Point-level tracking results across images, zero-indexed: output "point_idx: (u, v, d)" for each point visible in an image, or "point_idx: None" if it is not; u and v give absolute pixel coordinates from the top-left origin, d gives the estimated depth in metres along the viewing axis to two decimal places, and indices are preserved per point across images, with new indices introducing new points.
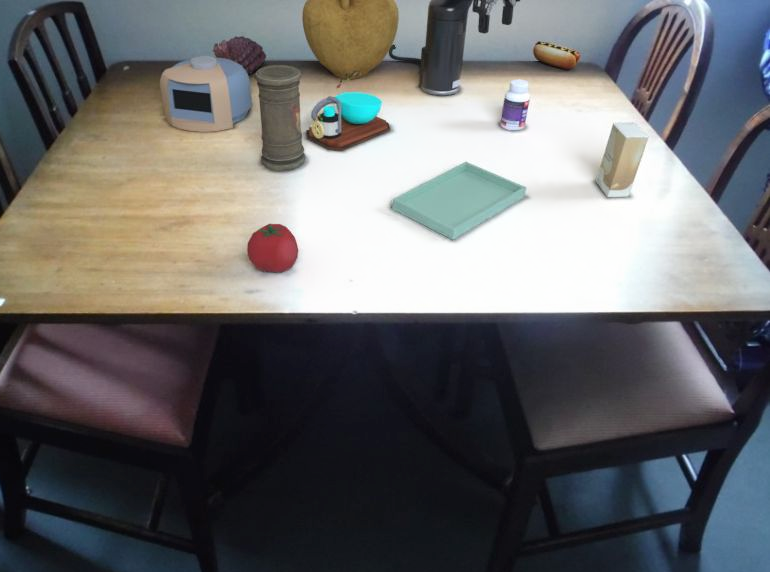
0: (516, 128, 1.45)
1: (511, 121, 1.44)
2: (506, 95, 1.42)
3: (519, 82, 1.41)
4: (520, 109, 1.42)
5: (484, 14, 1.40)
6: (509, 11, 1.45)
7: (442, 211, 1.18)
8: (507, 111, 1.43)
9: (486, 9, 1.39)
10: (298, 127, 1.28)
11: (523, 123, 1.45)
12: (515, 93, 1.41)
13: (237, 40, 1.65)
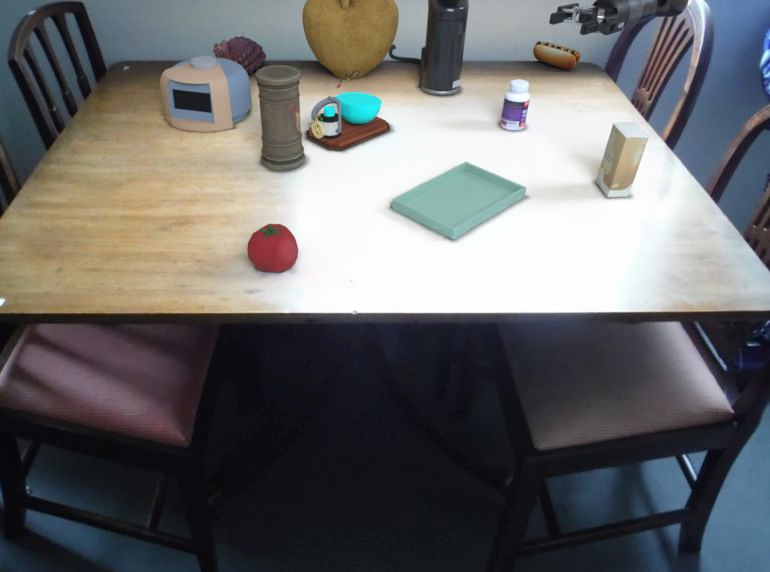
0: (516, 128, 1.45)
1: (511, 121, 1.44)
2: (506, 95, 1.42)
3: (519, 82, 1.41)
4: (520, 109, 1.42)
5: (598, 31, 1.38)
6: (561, 20, 1.43)
7: (442, 211, 1.18)
8: (507, 111, 1.43)
9: None
10: (298, 127, 1.28)
11: (523, 123, 1.45)
12: (515, 93, 1.41)
13: (237, 40, 1.65)
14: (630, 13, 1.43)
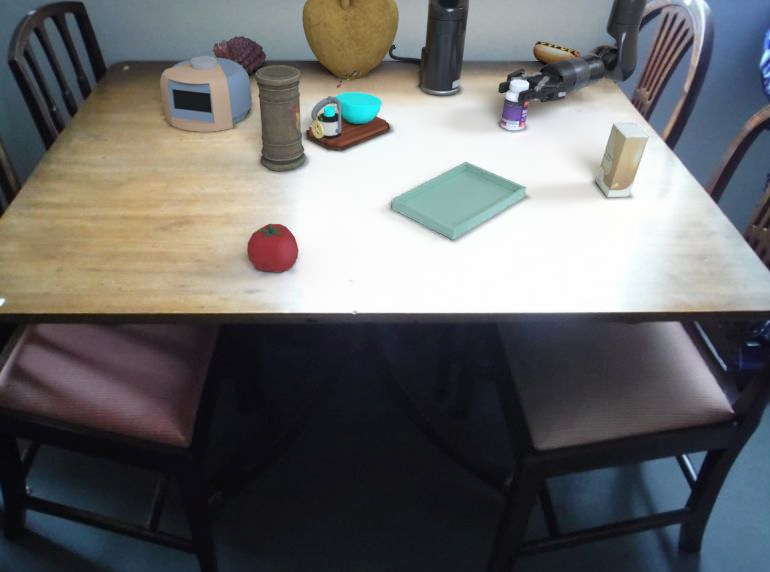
0: (516, 128, 1.45)
1: (511, 121, 1.44)
2: (506, 95, 1.42)
3: (519, 82, 1.41)
4: (520, 109, 1.42)
5: (536, 98, 1.41)
6: None
7: (442, 211, 1.18)
8: (507, 111, 1.43)
9: None
10: (298, 127, 1.28)
11: (523, 123, 1.45)
12: (515, 93, 1.41)
13: (237, 40, 1.65)
14: (576, 80, 1.45)
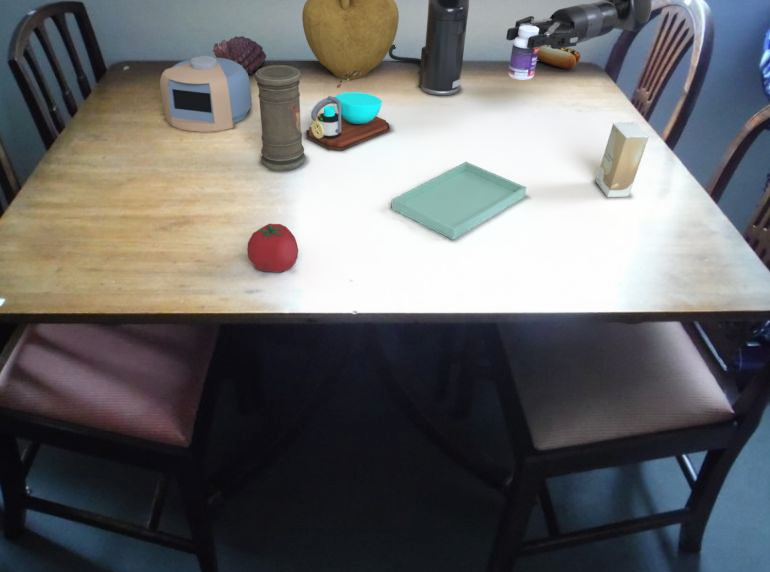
0: (525, 77, 1.38)
1: (519, 69, 1.37)
2: (515, 42, 1.35)
3: (528, 27, 1.34)
4: (529, 56, 1.35)
5: (546, 44, 1.34)
6: (518, 35, 1.37)
7: (442, 211, 1.18)
8: (516, 59, 1.36)
9: (548, 44, 1.34)
10: (298, 127, 1.28)
11: (532, 72, 1.38)
12: (524, 38, 1.34)
13: (237, 40, 1.65)
14: (588, 26, 1.38)
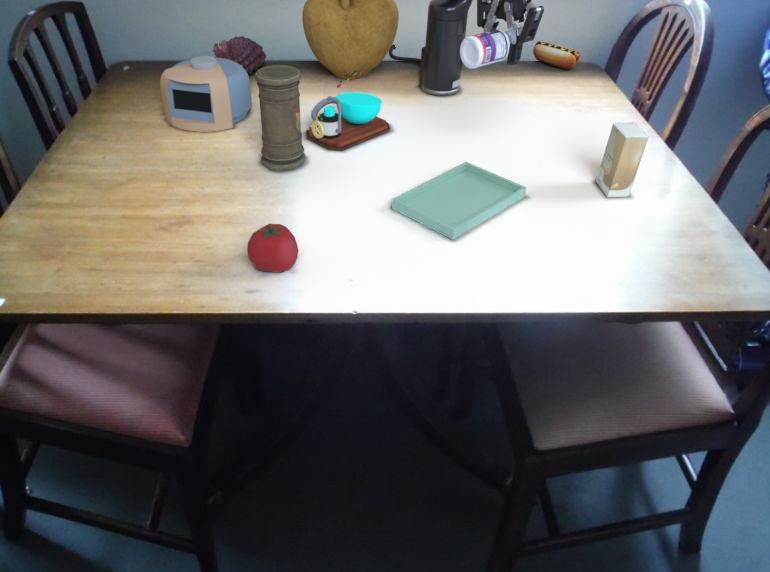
0: None
1: None
2: None
3: None
4: None
5: None
6: None
7: (442, 211, 1.18)
8: None
9: None
10: (298, 127, 1.28)
11: None
12: None
13: (237, 40, 1.65)
14: None
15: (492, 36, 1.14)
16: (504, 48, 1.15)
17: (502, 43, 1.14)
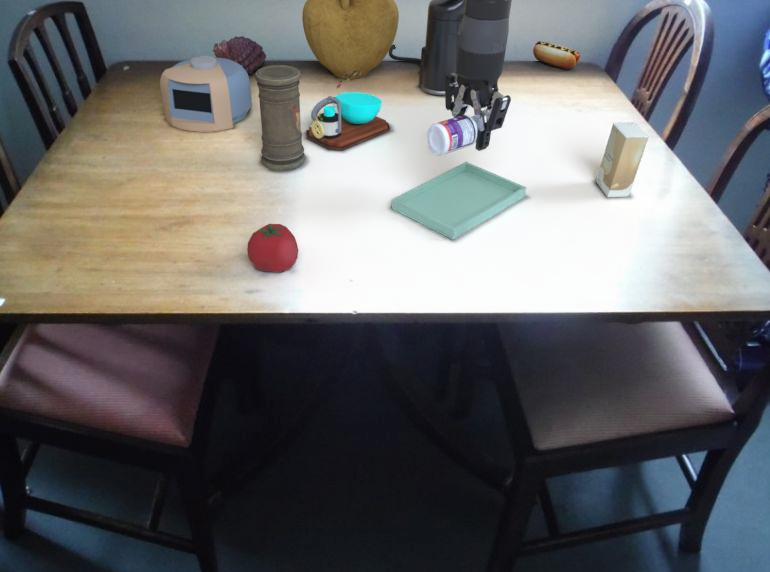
0: None
1: None
2: None
3: None
4: None
5: None
6: None
7: (442, 211, 1.18)
8: None
9: None
10: (298, 127, 1.28)
11: None
12: None
13: (237, 40, 1.65)
14: None
15: (459, 123, 1.11)
16: (471, 134, 1.12)
17: (469, 129, 1.11)
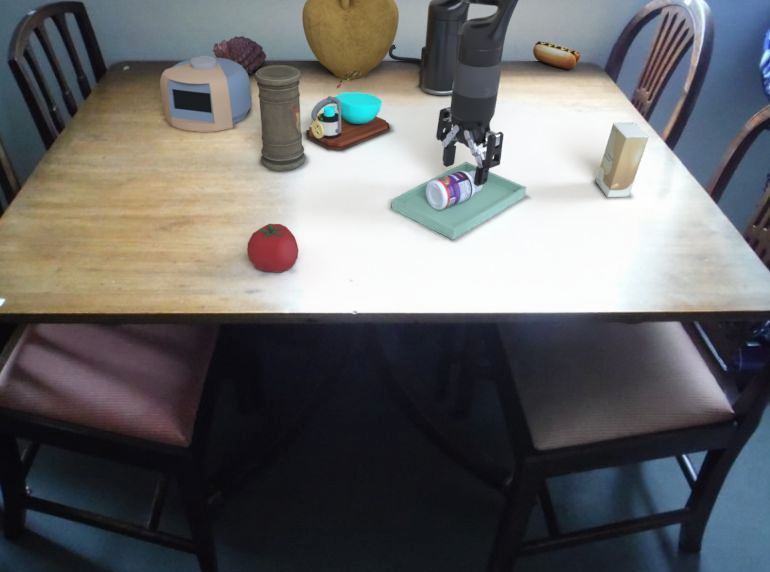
0: None
1: None
2: None
3: None
4: None
5: None
6: None
7: (442, 211, 1.18)
8: None
9: None
10: (298, 127, 1.28)
11: None
12: None
13: (237, 40, 1.65)
14: None
15: (459, 185, 1.17)
16: (467, 196, 1.18)
17: (467, 192, 1.18)
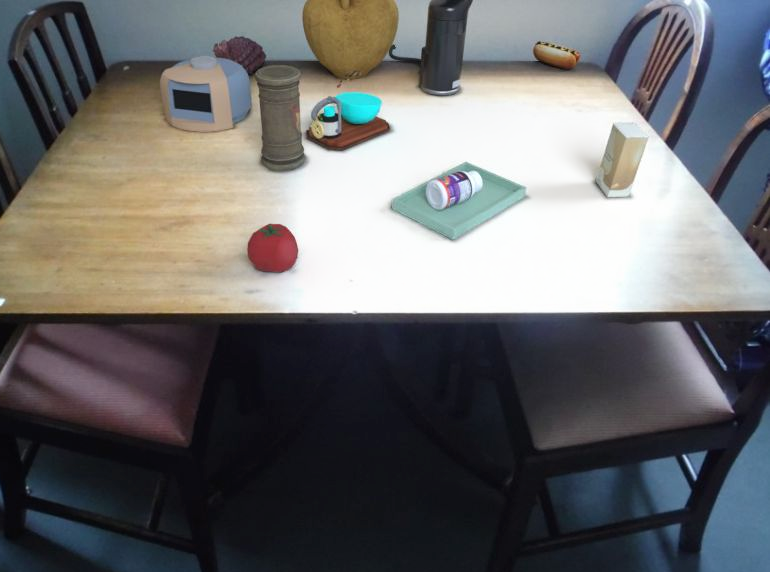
0: None
1: None
2: None
3: None
4: None
5: None
6: None
7: (442, 211, 1.18)
8: None
9: None
10: (298, 127, 1.28)
11: None
12: None
13: (237, 40, 1.65)
14: None
15: (459, 185, 1.17)
16: (467, 196, 1.18)
17: (467, 192, 1.18)
